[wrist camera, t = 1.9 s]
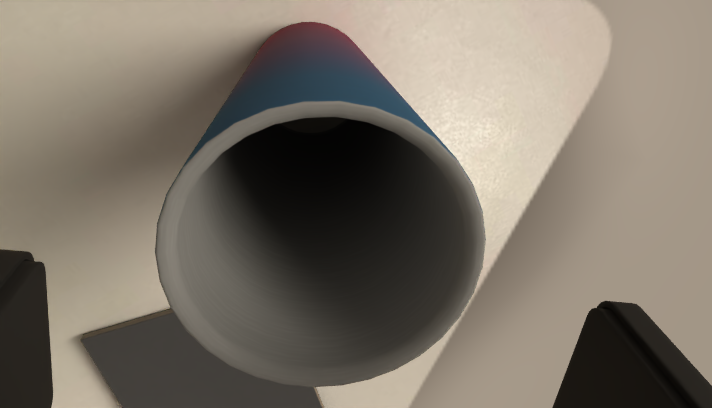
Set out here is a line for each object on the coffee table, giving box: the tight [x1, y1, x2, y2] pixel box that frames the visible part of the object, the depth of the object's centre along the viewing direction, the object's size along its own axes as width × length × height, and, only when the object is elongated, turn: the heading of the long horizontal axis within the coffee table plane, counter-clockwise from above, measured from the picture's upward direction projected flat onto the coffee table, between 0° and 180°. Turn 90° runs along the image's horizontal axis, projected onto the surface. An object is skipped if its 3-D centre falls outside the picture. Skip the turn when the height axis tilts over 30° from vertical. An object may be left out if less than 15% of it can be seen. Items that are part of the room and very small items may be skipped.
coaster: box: [81, 309, 324, 408], centre depth 32 cm, size 10×10×1 cm
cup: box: [155, 22, 486, 387], centre depth 19 cm, size 7×7×15 cm
